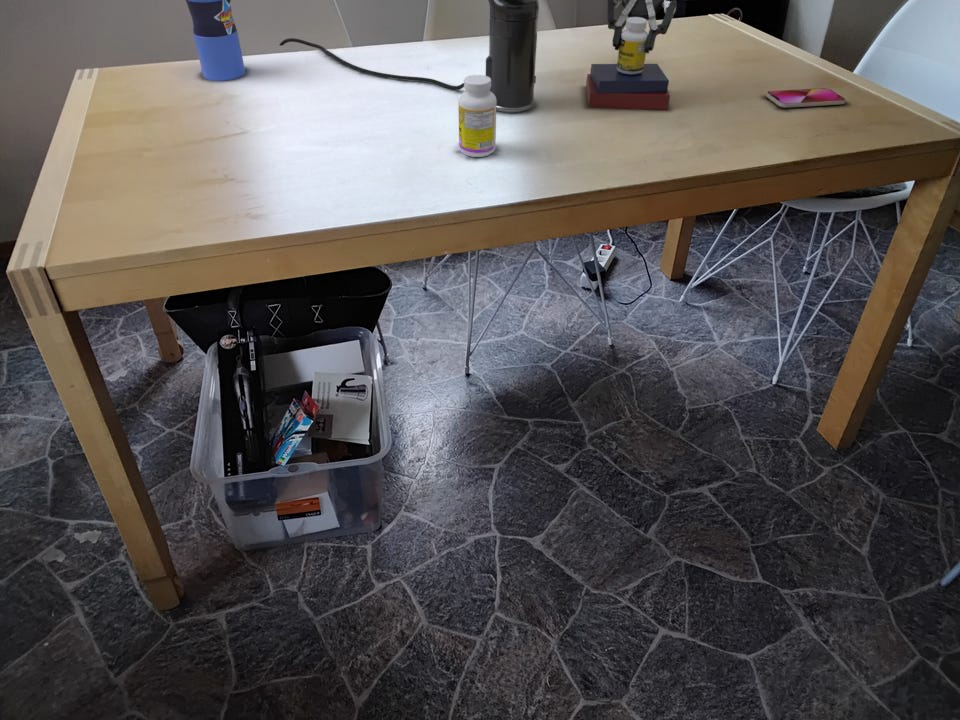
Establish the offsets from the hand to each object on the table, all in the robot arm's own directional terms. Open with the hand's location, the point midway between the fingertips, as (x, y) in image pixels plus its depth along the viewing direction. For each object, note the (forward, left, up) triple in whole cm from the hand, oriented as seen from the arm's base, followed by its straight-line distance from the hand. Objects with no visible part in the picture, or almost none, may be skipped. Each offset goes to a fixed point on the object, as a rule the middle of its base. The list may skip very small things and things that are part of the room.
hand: (631, 49), depth 144 cm
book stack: (0, +2, -10) cm, 11 cm away
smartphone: (+36, +13, -10) cm, 39 cm away
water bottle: (-87, -12, -11) cm, 89 cm away
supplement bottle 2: (0, +2, -5) cm, 5 cm away
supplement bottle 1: (-22, -32, -11) cm, 41 cm away
